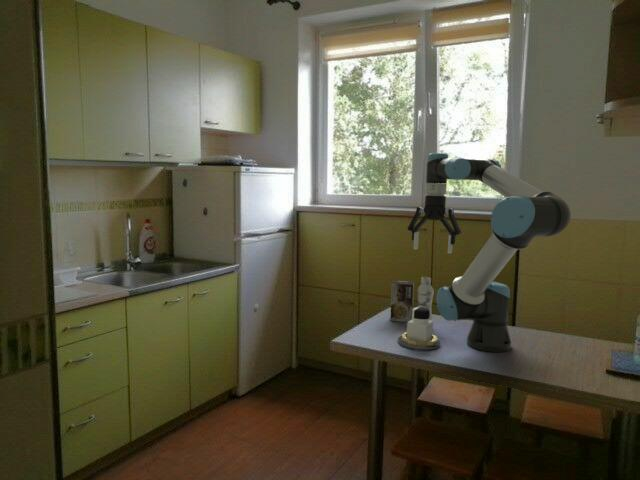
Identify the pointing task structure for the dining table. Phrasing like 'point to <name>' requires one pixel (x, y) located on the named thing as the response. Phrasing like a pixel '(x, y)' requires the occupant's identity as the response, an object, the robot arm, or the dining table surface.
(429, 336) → the medicine bottle
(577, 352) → the dining table surface
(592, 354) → the dining table surface
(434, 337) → the ring
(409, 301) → the coffee box
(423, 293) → the plastic bottle
